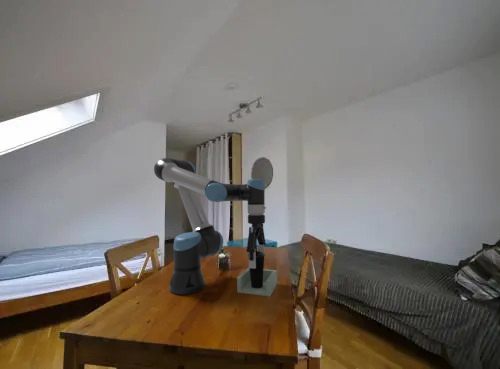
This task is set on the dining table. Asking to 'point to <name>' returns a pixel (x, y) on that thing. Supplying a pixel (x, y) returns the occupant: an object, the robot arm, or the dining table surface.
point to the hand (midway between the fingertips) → (257, 263)
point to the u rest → (266, 290)
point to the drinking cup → (257, 270)
